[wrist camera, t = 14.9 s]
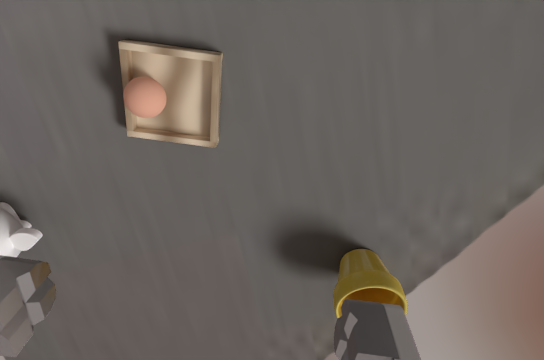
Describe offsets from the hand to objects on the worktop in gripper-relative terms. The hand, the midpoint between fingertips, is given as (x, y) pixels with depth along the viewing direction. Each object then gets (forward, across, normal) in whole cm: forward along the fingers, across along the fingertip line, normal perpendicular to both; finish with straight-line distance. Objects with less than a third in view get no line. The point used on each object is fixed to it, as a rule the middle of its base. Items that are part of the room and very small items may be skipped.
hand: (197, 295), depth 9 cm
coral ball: (+34, +15, +6) cm, 38 cm away
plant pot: (+37, -19, +31) cm, 52 cm away
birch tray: (+37, +12, +6) cm, 39 cm away
